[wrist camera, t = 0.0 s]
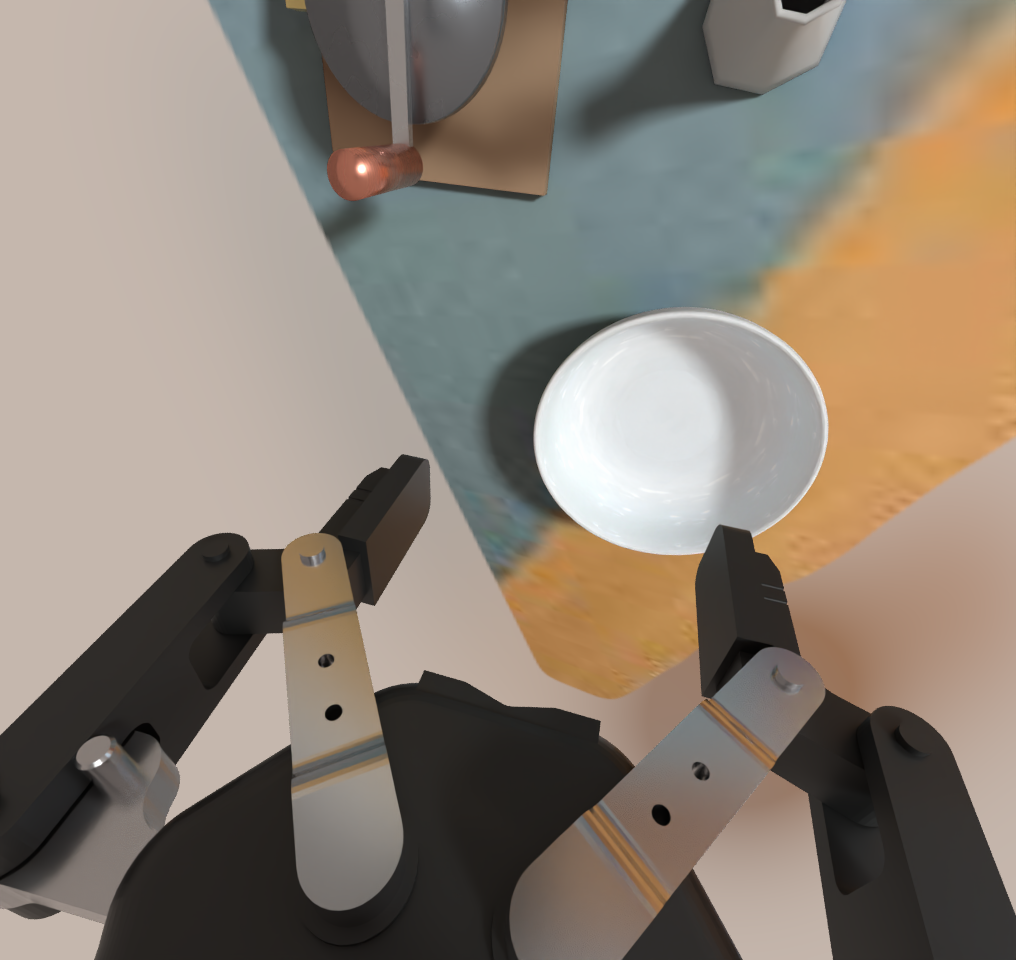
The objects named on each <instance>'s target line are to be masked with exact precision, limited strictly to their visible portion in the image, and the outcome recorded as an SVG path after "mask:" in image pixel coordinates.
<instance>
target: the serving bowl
mask: <svg viewBox="0 0 1016 960" xmlns="http://www.w3.org/2000/svg"><path fill="white" fill-rule="evenodd" d="M533 440H534V452H535V457H536V462H537V466H538V469H539V472H540V474H541V477H542V479H543V482H544V483H545V485H546V487H547V489H548V491H549V492H550V494H551V495H552V497H553V498H554V500H555V501H556V503H557V504H558V505H559V506H560V507H561V508H562V510H563V511H564V512H565V513H566V514H567V515H569V516H570V517H571V518H572V519H573V520H574V521H575V522H577V523H578V524H579V525H581V526H582V527H583V528H585V529H586V530H588V531H589V532H591V533H593V534H594V535H596V536H598V537H600V538H602V539H604V540H606V541H608V542H610V543H613V544H615V545H618V546H621V547H624V548H628V549H632V550H636V551H641V552H646V553H652V554H661V555H689V554H699V553H705V551H706V549H707V546H708V544H709V542H710V540H711V537H712V535H713V533H714V531H715V529H716V527H717V526H718V525H719V524H721V525H726V526H730V527H735V528H739V529H744V530H748V531H750V532H751V535H752V537H754V536H756V535H758V534H760V533H762V532H763V531H765V530H767V529H768V528H770V527H771V526H773V525H774V524H775V523H777V522H778V521H779V520H781V519H782V518H783V517H784V516H786V515H787V514H788V513H789V512H790V511H791V510H792V509H793V508H794V507H795V506H796V505H797V504H798V502H799V501H800V500H801V499H802V498H803V496H804V495H805V494H806V492H807V491H808V490H809V488H810V486H811V485H812V483H813V482H814V480H815V478H816V476H817V474H818V472H819V470H820V467H821V465H822V462H823V459H824V455H825V451H826V447H827V440H828V416H827V409H826V405H825V401H824V397H823V394H822V391H821V389H820V386H819V384H818V382H817V380H816V379H815V377H814V375H813V373H812V372H811V370H810V369H809V367H808V366H807V365H806V363H805V362H804V361H803V359H802V358H801V357H800V356H799V355H798V354H797V353H796V352H795V351H794V350H793V349H792V348H791V347H790V346H789V345H788V344H786V343H785V342H784V341H783V340H781V339H780V338H779V337H777V336H776V335H774V334H773V333H771V332H770V331H768V330H766V329H765V328H763V327H761V326H759V325H757V324H756V323H754V322H752V321H749V320H747V319H745V318H742V317H739V316H736V315H733V314H730V313H727V312H723V311H719V310H714V309H708V308H699V307H672V308H663V309H657V310H651V311H647V312H643V313H639V314H636V315H633V316H630V317H627V318H624V319H622V320H620V321H617V322H615V323H613V324H611V325H609V326H607V327H605V328H603V329H602V330H600V331H598V332H597V333H595V334H594V335H592V336H591V337H590V338H588V339H587V340H585V341H584V342H583V343H582V344H581V345H579V346H578V347H577V348H576V349H575V350H574V351H573V352H572V353H571V354H570V355H569V356H568V357H567V358H566V359H565V360H564V361H563V363H562V364H561V365H560V366H559V368H558V369H557V370H556V371H555V373H554V374H553V376H552V377H551V379H550V381H549V382H548V384H547V386H546V388H545V390H544V392H543V394H542V397H541V399H540V402H539V405H538V408H537V412H536V416H535V424H534V436H533Z"/></svg>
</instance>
